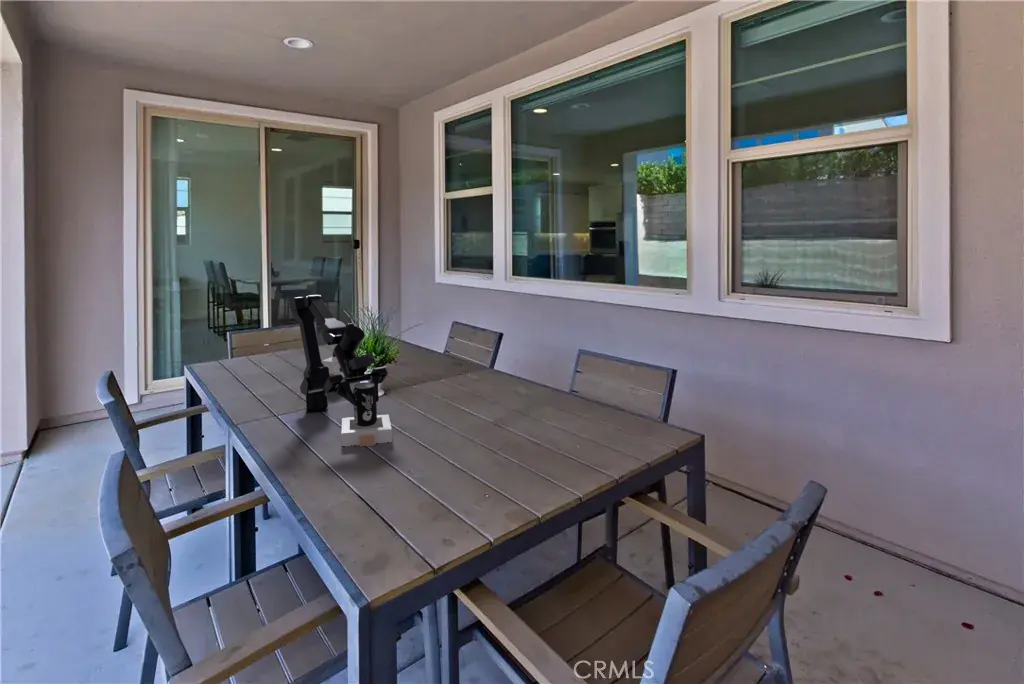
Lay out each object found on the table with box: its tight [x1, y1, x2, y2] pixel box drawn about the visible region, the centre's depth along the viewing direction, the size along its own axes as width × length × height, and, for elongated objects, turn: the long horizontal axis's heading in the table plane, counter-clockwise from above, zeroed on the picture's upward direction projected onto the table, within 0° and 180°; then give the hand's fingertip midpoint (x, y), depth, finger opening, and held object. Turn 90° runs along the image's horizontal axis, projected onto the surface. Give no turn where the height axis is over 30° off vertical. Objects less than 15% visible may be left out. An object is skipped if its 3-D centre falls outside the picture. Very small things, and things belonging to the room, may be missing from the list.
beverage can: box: [352, 381, 378, 427], centre depth 164 cm, size 7×7×12 cm
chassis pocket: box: [340, 414, 393, 448], centre depth 165 cm, size 14×16×4 cm
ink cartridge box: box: [321, 352, 345, 377], centre depth 217 cm, size 9×5×15 cm, turn 168°
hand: (367, 403), depth 163 cm, fingers closed on beverage can, 7 cm apart
